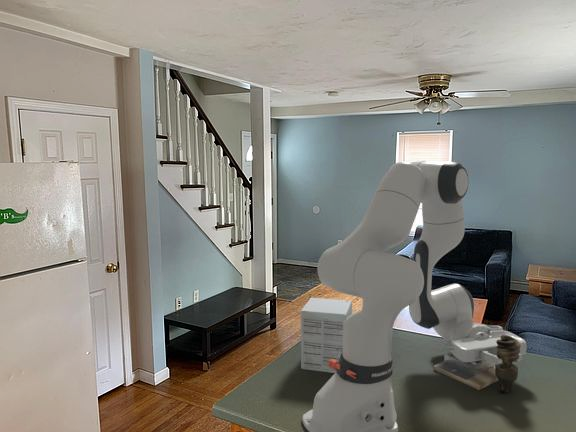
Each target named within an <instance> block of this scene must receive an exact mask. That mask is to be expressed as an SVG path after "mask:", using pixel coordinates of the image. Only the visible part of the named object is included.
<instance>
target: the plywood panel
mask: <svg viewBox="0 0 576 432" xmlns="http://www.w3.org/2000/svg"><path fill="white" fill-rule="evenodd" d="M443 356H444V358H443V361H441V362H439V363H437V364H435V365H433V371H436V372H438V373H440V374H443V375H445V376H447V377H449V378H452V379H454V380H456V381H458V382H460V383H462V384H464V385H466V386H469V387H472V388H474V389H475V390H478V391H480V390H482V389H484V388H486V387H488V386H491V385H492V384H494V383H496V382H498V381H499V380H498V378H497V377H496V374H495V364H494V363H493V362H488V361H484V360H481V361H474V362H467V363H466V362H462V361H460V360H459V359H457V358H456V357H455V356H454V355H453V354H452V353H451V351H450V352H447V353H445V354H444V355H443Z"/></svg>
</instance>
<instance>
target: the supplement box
mask: <svg viewBox="0 0 576 432" xmlns="http://www.w3.org/2000/svg"><path fill="white" fill-rule="evenodd" d="M351 314H353V301H352V300H347V299H337V298H336V299H335V298H334V299H333V298H323V297H320V298H319V297H310V298H309V299H308V301H307V302H306V303H305V305H304V306H303V308H301V310H300V367H301V370H306V371H307V370H308V371H316V372H324V373H330V374H335V373H336V370H334V369H333V368H330V367H329V366H328V362H329V360H330V359H334V360H335V361H338V362H339V359H340V356H341V353H342V350H343V324H344V322H345V320H346V319H347V318H348V317H349V316H350V315H351Z"/></svg>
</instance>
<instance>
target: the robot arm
mask: <svg viewBox="0 0 576 432" xmlns="http://www.w3.org/2000/svg"><path fill="white" fill-rule="evenodd" d="M468 187H469V175H468V171H467V169H466V168H465V167H464V166H463V164H462V163H459V162H455V161H448V160H447V161H445V162H444V161H426V160H421V161H420V160H419V161H418V160H417V161H412V162H408V161H399V162H395V163H394V164H392V165H391V166H390V167H389V168H388V169H387V171H386V172H385V174H384V175H383V177H382V179H381V180H380V182H379V184H378V185H377V188H376V190H375V192H374V195H373V198H372V200H371V201H370V204H369V206H368V208H367V210H366V212H365V214H364V216H363V218H362V220H361V221H360V223H359V224H358V226H357V227H355V229H354V230H353V231H352V232H351V233H350V234H349V235H348V236H347V237H346V238H344V239H343V240H342V241H341V242H339V243H337V244H335V245H334V246H331V247H329V248H327V249H326V250H325V251H323V253H322V254H321V256H320V257H319V259H318V262H317V268H316V269H317V276H318V279H319V282H321V284H322V285H324V286H325V287H327V288H329V289H331V290H332V291H334V292H338V293H340V294H343V295H348V296H352V297H357V298H360V299H362V308H361V310H358V311H356V312H352V314H351V315H350V316H349V317H348V318H347V319H346V320H345V322H344V324H343V350H342V353H341V356H340V359H339V362H338V361H335V360H334V359H330V360H329V362H328V366H329V367H330V368H333V369H334V370H336V373H333V375H332V376H331V377H330V378H329V379H328V380H327V381H326V382H325V383H324V385H323V386H322V387H321V388H320V389H319V390H318V391H317V393H316V394H315V396H314V399H313V404H312V405H313V406H312V409H310V410H309V411H307V412H305V413H304V414H302V424H303V426H304V427H305V429H306V430H307V431H308V432H399V426H398V422H397V419H398V415H397V410H396V407H395V397H394V389H393V384H392V375H393V370H394V364H393V356H392V354H391V353H392V340H393V339H392V338H393V329H394V325H395V322H396V320H397V318H398V316H399V314H400V313H402V311H403V310H404V309H406V308H407V307H408V311H409V315H410V318H411V320H412V321H413V323H415V324H416V325H418V326H419V327H422V328H424V329H427V330H431V329H432V328H433V330H434V331H435V332H436V333H437V334H438V336H440V337H441V338H442V339H444V340H445V341H446V342H445V343H444V347H445V348H446V349H448V350H449V351H450V352H451V353H452V354H453V355H454V356H455V357H456V358H457V359H459V360H460V361H462V362H466V363H467V362H474V361H481V360H484V361H488V362H493V363H494V364H496V365H498V364H502V360H503V359H502V357H500V356H498V355H497V351H498V350H497V348H496V347H497V345H498V344H497V343H496V341H497V340H500V339H501V338H500V336H501V335H508V336H511V337H513V338H515V339H516V340H518V341H519V343H520V345H521V347H520V353H519V359H518V360H517V361H515V362H516V363H517V362H522V361H523V356H524V355H526V353H527V342H526V340H525V339H524V338H522V337H520V336H519V335H516V334H514V333H513V332H511V331H508V330H504V329H503V328H504V327H502V326H500V325H494V324H483V323H481V322H477V323H476V322H475V321H473V318H474V313H475V312H474V311H475V301H474V297H473V296H472V294H471V292H470V291H469V290H468V289H466V287H465V286H463V285H461V284H459V283H458V282H457V283H456V282H455V283H451V284H447V285H445V286H441V287H439V288H436V289H432V279H433V269H434V267H435V265H436V264H437V263H438V261H440V259H442V257H444V256H445V255H446V254H448V253H449V252H451V251H452V250H453V249H455V248H456V247H457V246H458V245H459V244H460V243H461V241H462V240H463V238H464V235H465V231H466V225H465V216H464V215H465V214H464V207H463V203H462V199H463V198H464V197H465V196H466V194H467V192H468ZM420 205H421V217H422V231H421V235H420V237H419V240H418V241H417V243H416V244H415V245H414V250H413V256H412V257H413V259H411V258H407V257H405V256H402V255H400V254H397V253H389V252H386V251H388V250H389V249H391V248H393V247H395V246H396V247H397V246H398V245H400V244H402V243H404V242H405V241H406V240H407V239H408V238H409V235H410V233H411V231H412V228H413V225H414V222H415V219H416V216H417V214H418V211H419V208H420ZM515 362H514V363H515Z"/></svg>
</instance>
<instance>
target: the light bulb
mask: <svg viewBox="0 0 576 432" xmlns="http://www.w3.org/2000/svg"><path fill="white" fill-rule="evenodd" d="M500 338H501V339H500V340H497V341H496V343H497V344H498V345H497V347H496V348H497V350H498V351H497V355H498V356H500V357H502V359H503V360H502V364H498V365H496V364H495V374H496V377H497V378H498V381H499V387H498V389H499V390H500V391H501V393H502V394H505V393H506V394H507V392H511V391H512V388H513V384H514V383H515V382H516V381H517V379H518V376H519V367H518V366H517V365H516V364H513V363H515V361H517V360H518V359H519V353H520V347H521V345H520V343H519V341H518V340H516V339H515V338H513V337H511V336H508V335H501V336H500Z"/></svg>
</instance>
